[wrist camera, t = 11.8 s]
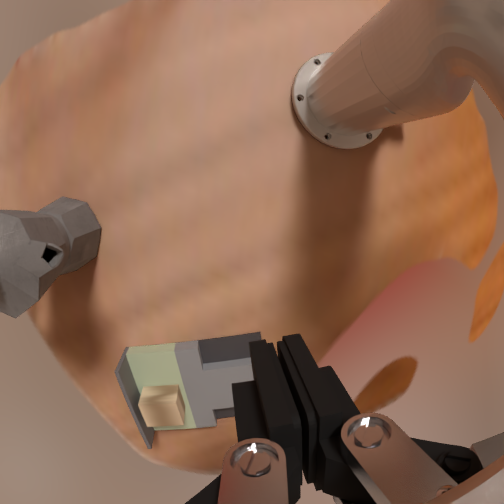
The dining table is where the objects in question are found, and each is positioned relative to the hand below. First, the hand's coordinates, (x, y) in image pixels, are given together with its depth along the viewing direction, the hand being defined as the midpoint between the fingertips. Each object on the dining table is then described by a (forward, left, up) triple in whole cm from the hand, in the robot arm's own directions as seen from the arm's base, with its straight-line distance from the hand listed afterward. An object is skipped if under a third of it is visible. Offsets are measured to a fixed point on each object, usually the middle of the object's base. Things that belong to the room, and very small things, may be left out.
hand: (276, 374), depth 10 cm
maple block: (+12, +20, -25) cm, 34 cm away
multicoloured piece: (+7, +20, -27) cm, 34 cm away
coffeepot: (+21, -3, -27) cm, 35 cm away
